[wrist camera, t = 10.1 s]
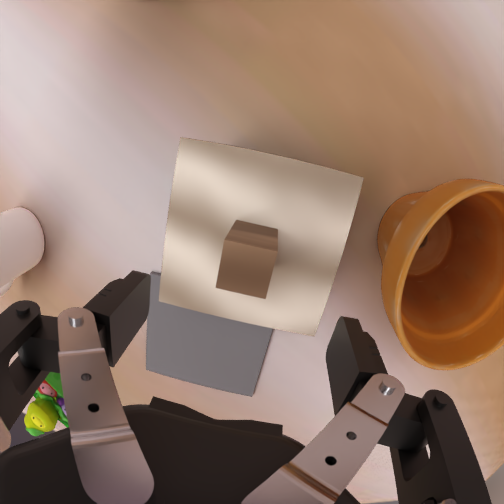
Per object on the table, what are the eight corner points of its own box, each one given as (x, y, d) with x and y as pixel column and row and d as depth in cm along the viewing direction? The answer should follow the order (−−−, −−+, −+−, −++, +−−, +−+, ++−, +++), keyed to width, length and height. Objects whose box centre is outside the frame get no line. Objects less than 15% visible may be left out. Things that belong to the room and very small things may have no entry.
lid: (183, 137, 21) (153, 135, 16) (360, 176, 21) (387, 186, 15) (161, 296, 25) (134, 333, 20) (313, 331, 25) (320, 376, 20)
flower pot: (479, 261, 29) (547, 312, 17) (379, 319, 32) (418, 399, 20) (444, 145, 26) (528, 152, 13) (328, 205, 29) (363, 248, 17)
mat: (152, 271, 32) (150, 273, 32) (279, 302, 32) (279, 304, 32) (147, 367, 37) (146, 369, 37) (252, 394, 37) (251, 396, 36)
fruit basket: (103, 401, 41) (72, 451, 30) (80, 413, 43) (52, 457, 33) (52, 349, 39) (11, 393, 28) (34, 368, 41) (-1, 406, 30)
